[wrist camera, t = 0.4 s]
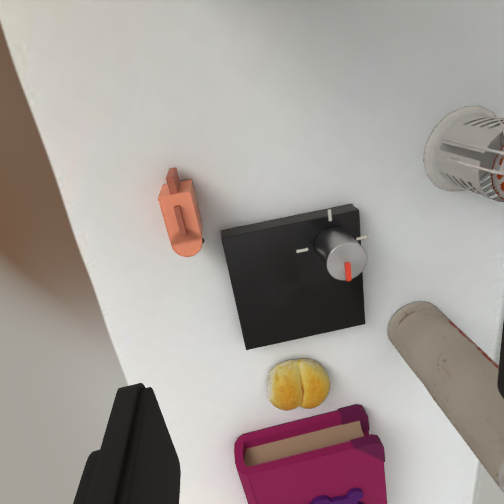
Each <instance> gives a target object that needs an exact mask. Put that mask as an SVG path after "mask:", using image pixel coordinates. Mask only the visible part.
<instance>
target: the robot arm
mask: <svg viewBox="0 0 504 504" xmlns="http://www.w3.org/2000/svg"><path fill="white" fill-rule="evenodd" d="M497 387H498V390H499V393H500V394H501V396H502V397H503V399H504V323H503V332H502V342H501V352H500V362H499V371H498V381H497ZM180 476H181V472H180V463H179V459H178V456H177V453H176V451H175V448H174V445H173V443H172V440H171V437H170V434H169V432H168V429H167V426H166V424H165V421H164V418H163V416H162V413H161V410H160V407H159V405H158V402H157V399H156V397H155V394H154V391H153V389H152V388H151V387H148V388H145V386H144V385H143V384H142V383H139V384H135V385H130V386H126V387H122V388H119V389H118V391H117V393H116V397H115V400H114V404H113V407H112V411H111V414H110V418H109V421H108V424H107V428H106V432H105V435H104V438H103V442H102V445H101V449H100V450H97V451H93V452H92V453H91V454H90V455H89V457H88V459H87V462H86V465H85V468H84V471H83V474H82V477H81V480H80V484H79V487H78V490H77V493H76V496H75V500H74V503H73V504H179V493H180Z"/></svg>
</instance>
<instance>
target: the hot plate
mask: <svg viewBox="0 0 504 504" xmlns="http://www.w3.org/2000/svg"><path fill="white" fill-rule="evenodd" d="M333 226H337V227H341V228H343V229H345V230H346V231H347V232H348V233H349V234H350V235H351V236H352V237H353V238H354V239H355V240H356V241H357V242H358V243H359V244H360V245H361V240H362V239H366V238H368V235H365V236H360V218H359V210H358V209H357V208H356V207H355V206H353V205H352V204H348V205H343V206H338V207H333V208H329V209H324V210H319V211H314V212H309V213H304V214H299V215H294V216H289V217H285V218H280V219H275V220H270V221H265V222H260V223H255V224H250V225H245V226H241V227H236V228H231V229H226V230H221V238H222V243H223V248H224V252H225V257H226V261H227V266H228V270H229V275H230V279H231V284H232V288H233V293H234V297H235V302H236V306H237V311H238V315H239V320H240V324H241V329H242V334H243V338H244V343H245V347H246V350H249V349H253V348H258V347H262V346H267V345H271V344H276V343H281V342H285V341H290V340H294V339H299V338H303V337H308V336H313V335H317V334H322V333H326V332H331V331H335V330H340V329H344V328H349V327H354V326H358V325H363V324H365V312H364V293H363V275H362V272H361V273H360V274H359V275H358V276H356V277H355V278H352V280H351V281H346V280H338V279H335V278H334V277H332V276H331V275H330V274H329V272H328V271H327V269H326V268H325V266H324V265H323V263H322V262H321V260H320V259H319V257H318V256H317V255H316V253H315V250H314V242H315V239H316V237H317V236H318V234H319V233H320V232H321V231H322V230H324V229H326V228H328V227H333Z"/></svg>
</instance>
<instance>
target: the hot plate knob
mask: <svg viewBox="0 0 504 504" xmlns="http://www.w3.org/2000/svg"><path fill="white" fill-rule="evenodd" d="M314 250H315V253H316V255H317V256H318V257H319V259H320V260H321V262H322V263H323V265H324V266H325V268H326V269H327V271H328V272H329V274H330V275H331V276H332V277H334V278H335V279H338V280H346V281H351V280H352V278H355V277H356V276H358V275H359V274H360V273H361V272H362V271H363V270H364V268H365V266H366V263H367V254H366V251H365V250H364V248H363V247H362V246H361V245H360V244H359V243H358V242H357V241H356V240H355V239H354V238H353V237H352V236H351V235H350V234H349V233H348V232H347V231H346V230H345V229H343V228H341V227H337V226H333V227H328V228H326V229H324V230H322V231H321V232H320V233H319V234H318V236H317V237H316V239H315V242H314Z"/></svg>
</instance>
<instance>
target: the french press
mask: <svg viewBox="0 0 504 504" xmlns="http://www.w3.org/2000/svg"><path fill="white" fill-rule="evenodd" d="M499 120H500V122H499ZM501 123H502V125H501ZM503 130H504V119H502V118H497V117H496V116H495V114H494V113H493V112H491V111H489V110H487V109H485V108H483V107H481V106H471V107H463V108H461V109H459V110H456V111H454V112H452V113H450V114H448V115H447V116H446V117H445V118H444V119H443V120H442V121H441V122H440V123H439V124H438V125H437V126H436V127H435V128H434V130H433V132H432V134H431V136H430V137H429V139H428V141H427V143H426V148H425V154H424V165H425V169H426V173H427V176H428V177H429V178H430V180H431V181H432V182H433V183H434V184H435V186H437V187H440V188H442V189H444V190H447V191H459V190H465V189H467V190H470V191H473V192H475V193H477V194H480V195H481V194H482V195H483V196H485V197H488V198H490V196H493V195H495V194H496V193H497V195H498V196H497V197H495V198H493V200H496V201H498V202H504V135H503ZM490 174H491V178H489V179H488V180H487V181H485V182H483V183H482V184H480V181H482V180H483V179H485V178H486V177H487V176H489V175H490ZM491 181H492V185H490V186H488V187H487V188H485V189H482V187H483V186H485V185H487V184H488V183H490V182H491ZM471 186H474V188H472V187H471ZM469 188H471V189H469ZM492 188H493V189H494V191H492V192H490V193H488V194H485V193H484V192H486V191H488V190H490V189H492ZM476 190H477V191H478V192H477V191H476ZM490 199H492V198H490Z"/></svg>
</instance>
